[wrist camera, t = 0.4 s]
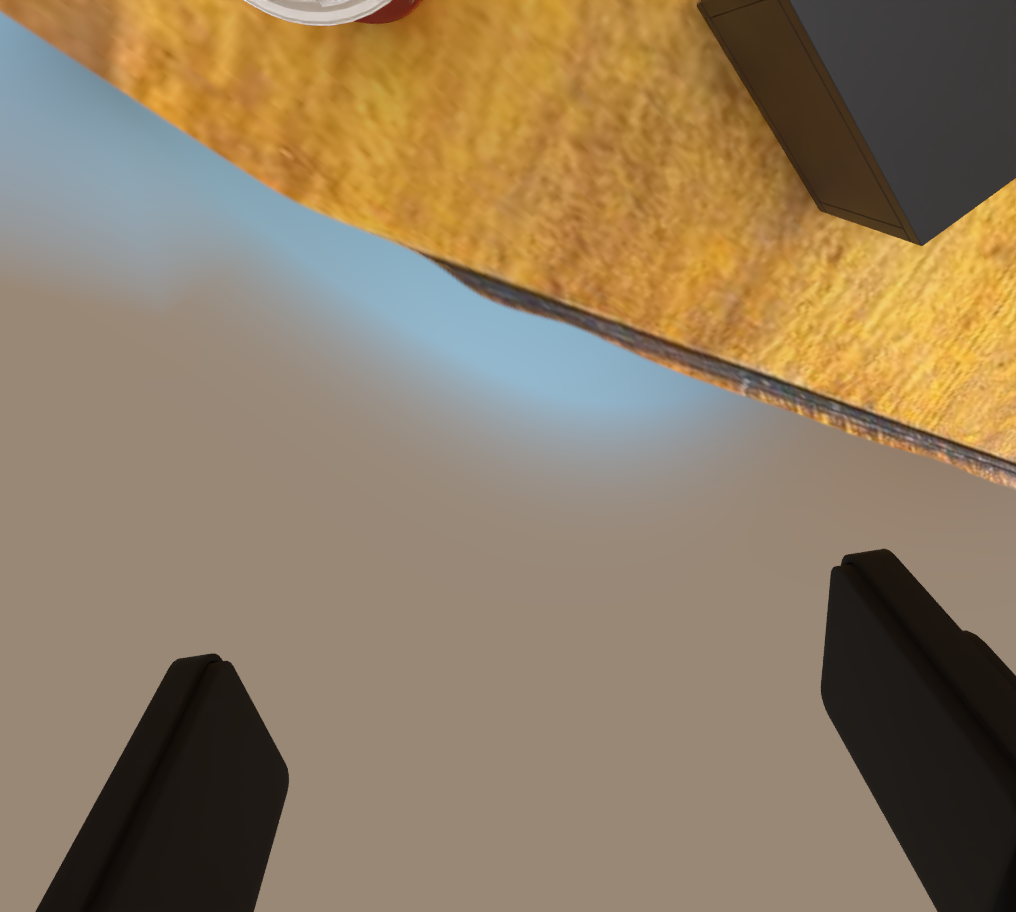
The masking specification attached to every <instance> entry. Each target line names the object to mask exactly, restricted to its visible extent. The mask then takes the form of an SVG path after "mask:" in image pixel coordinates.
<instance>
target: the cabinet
mask: <svg viewBox="0 0 1016 912" xmlns="http://www.w3.org/2000/svg"><path fill="white" fill-rule="evenodd" d="M697 7H698V8H699V10H700V12H701V13H702V15H703V17H704V18H705V20H706V22H707V23H708V25H709V27H710V28H711V30H712V31H713V33H714V35H715V36H716V38H717V40H718V41H719V43H720V45H721V46H722V48H723V50H724V51H725V53H726V55H727V56H728V58H729V60H730V61H731V63H732V65H733V66H734V68H735V70H736V71H737V73H738V75H739V76H740V78H741V80H742V81H743V83H744V85H745V86H746V88H747V90H748V91H749V93H750V95H751V96H752V98H753V100H754V101H755V103H756V105H757V106H758V108H759V110H760V111H761V113H762V115H763V116H764V118H765V120H766V121H767V123H768V125H769V126H770V128H771V129H772V131H773V133H774V134H775V136H776V138H777V139H778V141H779V143H780V144H781V146H782V148H783V149H784V151H785V153H786V154H787V156H788V158H789V159H790V161H791V163H792V164H793V166H794V168H795V169H796V171H797V173H798V174H799V176H800V178H801V179H802V181H803V183H804V184H805V186H806V188H807V189H808V191H809V193H810V194H811V196H812V198H813V199H814V201H815V203H816V204H817V206H818V208H819V209H820V211H822V212H825V213H828V214H831V215H834V216H836V217H839V218H842V219H845V220H848V221H851V222H854V223H857V224H860V225H863V226H865V227H868V228H871V229H874V230H877V231H880V232H883V233H886V234H889V235H891V236H894V237H897V238H900V239H903V240H906V241H909V242H912V243H914V244H917V245H920V246H923V245H924V244H926V243H927V242H929V241H930V240H931V239H933V238H934V237H935V236H937V235H938V234H940V233H941V232H942V231H944V230H945V229H946V228H948V227H949V226H950V225H952V224H953V223H955V222H956V221H957V220H959V219H960V218H961V217H963V216H964V215H966V214H967V213H968V212H970V211H971V210H972V209H974V208H975V207H977V206H978V205H979V204H981V203H982V202H983V201H985V200H986V199H988V198H989V197H990V196H992V195H993V194H994V193H996V192H997V191H999V190H1000V189H1001V188H1003V187H1004V186H1005V185H1007V184H1008V183H1009V182H1011V181H1012V180H1014V179H1015V178H1016V0H701V1H700V2H699V3H698V4H697Z"/></svg>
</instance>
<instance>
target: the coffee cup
mask: <svg viewBox="0 0 1016 912" xmlns="http://www.w3.org/2000/svg"><path fill="white" fill-rule="evenodd" d="M244 1H245V2H247V3H249V4H251V5H253V6H254V7H256V8H258V9H260V10H261V11H263V12H265V13H267V14H270V15H272V16H275V17H278V18H280V19H283V20H286V21H288V22H294V23H299V24H304V25H309V26H333V25H338V24H343V23H349V22H353V21H354V22H361V23H370V24H382V23H388V22H392V21H395V20H398V19H400V18H403V17H404V16H406V15H408V14H409V13H410V12H412V11H413V10H414V9H415V8H416V7H417V6H418V5H419V4H420V3H421V1H422V0H244Z"/></svg>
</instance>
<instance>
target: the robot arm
mask: <svg viewBox="0 0 1016 912" xmlns="http://www.w3.org/2000/svg"><path fill="white" fill-rule="evenodd" d="M821 695H822V700H823V703H824V706H825V709H826V711H827V713H828V715H829V717H830V719H831V721H832V722H833V724H834V726H835V728H836V730H837V731H838V733H839V735H840V737H841V739H842V740H843V742H844V744H845V746H846V748H847V749H848V751H849V753H850V755H851V756H852V758H853V760H854V762H855V764H856V765H857V767H858V769H859V771H860V773H861V774H862V776H863V778H864V780H865V782H866V783H867V785H868V787H869V789H870V791H871V792H872V794H873V796H874V798H875V800H876V801H877V803H878V805H879V807H880V809H881V811H882V812H883V814H884V816H885V818H886V819H887V821H888V823H889V825H890V827H891V829H892V830H893V832H894V834H895V836H896V838H897V839H898V841H899V843H900V845H901V847H902V848H903V850H904V852H905V854H906V855H907V857H908V859H909V861H910V862H911V865H912V866H913V868H914V870H915V872H916V873H917V875H918V877H919V879H920V880H921V882H922V884H923V886H924V888H925V890H926V891H927V893H928V895H929V897H930V899H931V900H932V902H933V904H934V906H935V908H936V909H937V911H938V912H1016V676H1015V675H1014V674H1013V672H1012V671H1011V670H1010V669H1009V668H1008V667H1007V666H1006V665H1005V664H1004V663H1003V661H1002V660H1001V659H1000V658H999V657H998V656H997V655H996V654H995V653H994V652H993V650H992V649H991V648H990V647H989V646H988V645H987V644H986V643H985V642H984V641H983V640H981V639H980V638H979V637H978V636H977V635H975V634H973V633H971V632H969V631H962V630H961V629H960V628H959V627H958V625H957V624H956V623H955V622H954V621H953V620H952V619H951V618H950V616H949V615H948V614H947V613H946V612H945V611H944V610H943V609H942V607H941V606H940V605H939V604H938V603H937V602H936V601H935V600H934V598H933V597H932V596H931V595H930V594H929V593H928V592H927V591H926V589H925V588H924V587H923V586H922V585H921V584H920V583H919V582H918V581H917V580H916V578H915V577H914V576H913V575H912V574H911V573H910V572H909V570H908V569H907V568H906V567H905V566H904V565H903V564H902V563H901V562H900V560H899V559H898V558H897V557H896V556H895V555H894V554H893V553H892V552H891V551H889V550H887V549H881V550H874V551H868V552H861V553H855V554H848V555H845V556H844V557H843V559H842V563H841V566H836V567H833V569H832V571H831V578H830V589H829V601H828V612H827V623H826V635H825V647H824V657H823V669H822V680H821ZM288 784H289V774H288V768H287V766H286V764H285V762H284V760H283V758H282V756H281V754H280V752H279V751H278V749H277V747H276V745H275V743H274V742H273V739H272V737H271V736H270V734H269V732H268V730H267V728H266V726H265V725H264V722H263V721H262V719H261V717H260V715H259V713H258V711H257V709H256V708H255V706H254V704H253V702H252V700H251V699H250V696H249V694H248V693H247V691H246V689H245V687H244V685H243V683H242V682H241V680H240V678H239V676H238V674H237V672H236V670H235V668H234V666H233V665H232V664H231V663H230V662H228V661H223V660H222V659H221V658H220V656H218V655H217V654H206V655H200V656H194V657H187V658H180V659H177V660H176V661H174V662H173V663H172V665H171V666H170V667H169V669H168V671H167V673H166V674H165V676H164V678H163V680H162V682H161V684H160V686H159V687H158V689H157V691H156V693H155V695H154V696H153V698H152V700H151V702H150V704H149V705H148V707H147V709H146V711H145V713H144V715H143V716H142V718H141V720H140V722H139V724H138V726H137V727H136V729H135V731H134V733H133V735H132V736H131V738H130V740H129V742H128V744H127V746H126V748H125V749H124V751H123V753H122V755H121V757H120V758H119V760H118V762H117V764H116V766H115V767H114V769H113V771H112V773H111V775H110V777H109V778H108V780H107V782H106V784H105V786H104V788H103V789H102V791H101V793H100V795H99V797H98V799H97V801H96V802H95V804H94V806H93V808H92V810H91V811H90V813H89V815H88V817H87V819H86V820H85V822H84V824H83V826H82V828H81V830H80V831H79V834H78V835H77V837H76V839H75V840H74V842H73V844H72V846H71V848H70V850H69V852H68V853H67V855H66V857H65V859H64V861H63V862H62V864H61V866H60V868H59V870H58V872H57V873H56V875H55V877H54V879H53V881H52V882H51V884H50V886H49V888H48V890H47V892H46V893H45V895H44V897H43V899H42V901H41V903H40V904H39V906H38V908H37V910H36V912H254V909H255V905H256V901H257V898H258V894H259V891H260V887H261V883H262V880H263V876H264V873H265V869H266V866H267V862H268V859H269V855H270V852H271V848H272V845H273V841H274V837H275V834H276V830H277V826H278V823H279V819H280V816H281V813H282V809H283V805H284V802H285V798H286V795H287V791H288Z"/></svg>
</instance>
